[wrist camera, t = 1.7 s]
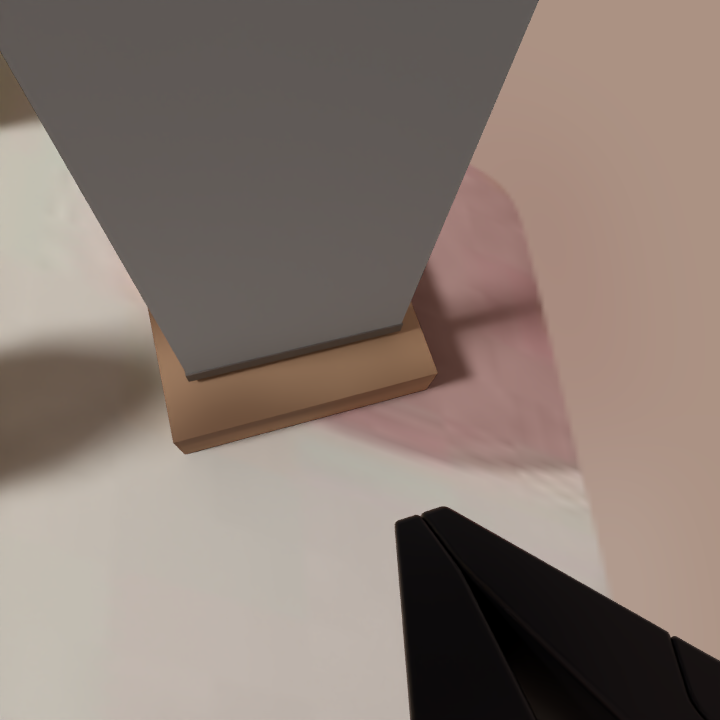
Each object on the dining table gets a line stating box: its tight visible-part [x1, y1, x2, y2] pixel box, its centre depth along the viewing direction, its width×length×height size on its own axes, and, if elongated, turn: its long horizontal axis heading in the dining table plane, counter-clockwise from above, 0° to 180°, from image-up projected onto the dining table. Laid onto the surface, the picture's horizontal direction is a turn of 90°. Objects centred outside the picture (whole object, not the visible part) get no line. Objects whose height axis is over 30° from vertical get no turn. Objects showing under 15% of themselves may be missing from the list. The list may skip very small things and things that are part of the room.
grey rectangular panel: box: [0, 0, 539, 382], centre depth 13 cm, size 1×8×14 cm, turn 107°
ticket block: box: [148, 302, 438, 454], centre depth 22 cm, size 10×10×2 cm
